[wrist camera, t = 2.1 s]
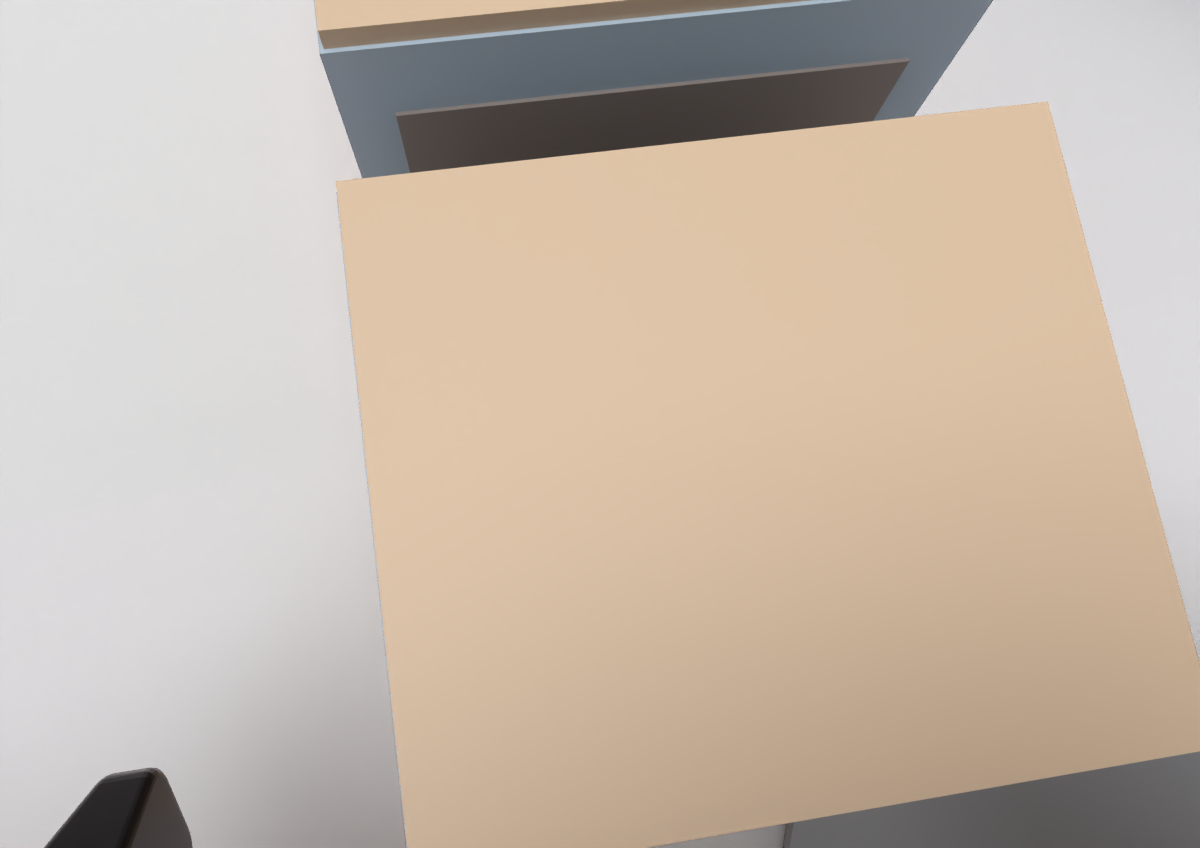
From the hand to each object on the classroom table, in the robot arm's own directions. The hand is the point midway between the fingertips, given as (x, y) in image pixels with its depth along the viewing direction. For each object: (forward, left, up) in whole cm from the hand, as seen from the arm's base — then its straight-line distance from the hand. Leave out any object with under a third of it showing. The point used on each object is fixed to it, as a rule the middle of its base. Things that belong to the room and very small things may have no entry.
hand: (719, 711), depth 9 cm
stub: (+1, +1, -9) cm, 9 cm away
